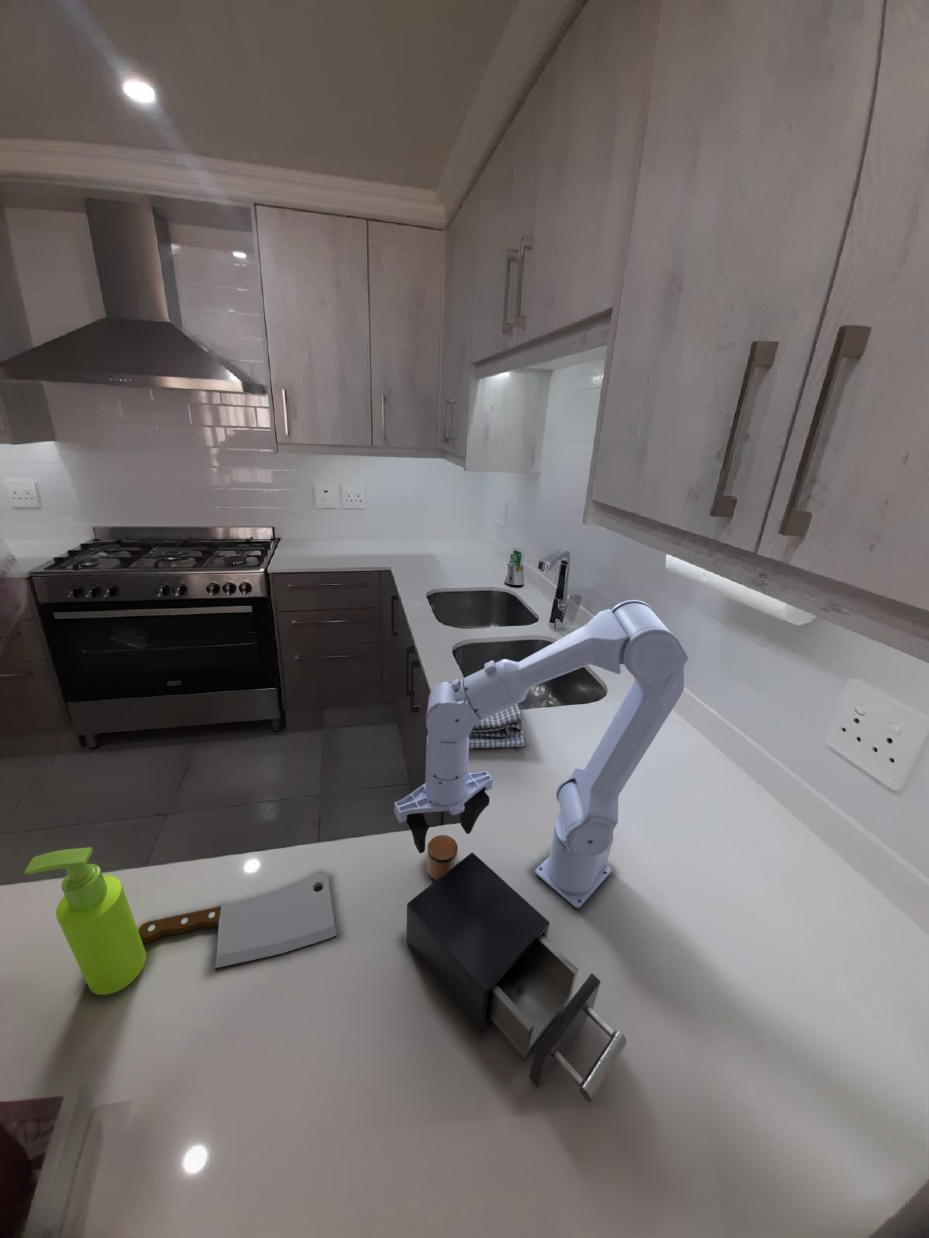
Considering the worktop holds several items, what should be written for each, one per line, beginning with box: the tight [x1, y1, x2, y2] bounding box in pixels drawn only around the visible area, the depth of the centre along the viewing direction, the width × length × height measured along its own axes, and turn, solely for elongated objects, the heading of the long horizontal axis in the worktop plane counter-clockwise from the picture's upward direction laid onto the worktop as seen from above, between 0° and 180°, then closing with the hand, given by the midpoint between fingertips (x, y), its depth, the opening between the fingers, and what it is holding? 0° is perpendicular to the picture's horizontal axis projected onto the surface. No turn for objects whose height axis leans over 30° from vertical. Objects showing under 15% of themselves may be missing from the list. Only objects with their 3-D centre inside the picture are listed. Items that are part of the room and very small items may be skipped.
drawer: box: [486, 934, 628, 1103], centre depth 55 cm, size 17×10×6 cm, turn 44°
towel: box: [449, 680, 526, 750], centre depth 106 cm, size 15×18×8 cm
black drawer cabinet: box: [406, 851, 550, 1033], centre depth 62 cm, size 14×12×8 cm
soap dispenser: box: [23, 846, 147, 996], centre depth 55 cm, size 6×7×20 cm
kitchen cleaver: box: [138, 871, 338, 969], centre depth 64 cm, size 24×1×10 cm
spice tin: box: [426, 834, 459, 881], centre depth 73 cm, size 4×4×4 cm
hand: (443, 837), depth 72 cm, fingers open, 7 cm apart
